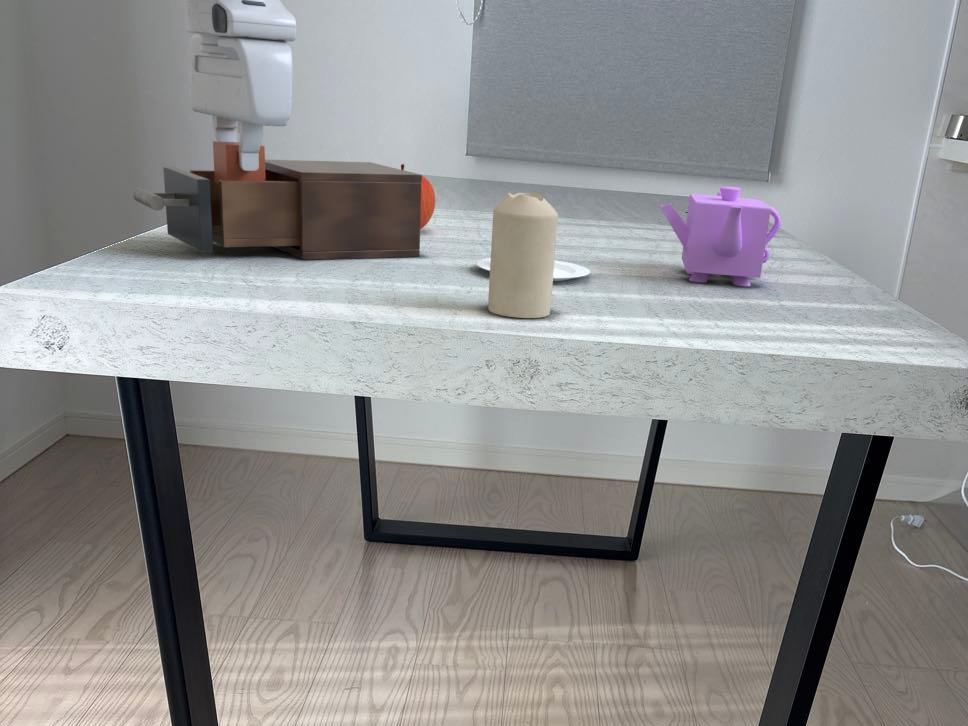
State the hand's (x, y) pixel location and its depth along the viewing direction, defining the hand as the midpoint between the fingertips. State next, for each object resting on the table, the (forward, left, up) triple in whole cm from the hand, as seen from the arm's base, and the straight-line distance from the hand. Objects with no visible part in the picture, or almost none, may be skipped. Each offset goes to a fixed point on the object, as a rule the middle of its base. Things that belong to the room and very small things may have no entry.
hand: (238, 167), depth 108 cm
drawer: (-2, 0, -7) cm, 8 cm away
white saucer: (+25, -18, -8) cm, 32 cm away
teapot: (+45, -24, -8) cm, 52 cm away
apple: (+25, +12, -8) cm, 29 cm away
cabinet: (+11, 0, -8) cm, 14 cm away
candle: (+13, -34, -8) cm, 37 cm away
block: (0, 0, -2) cm, 2 cm away
